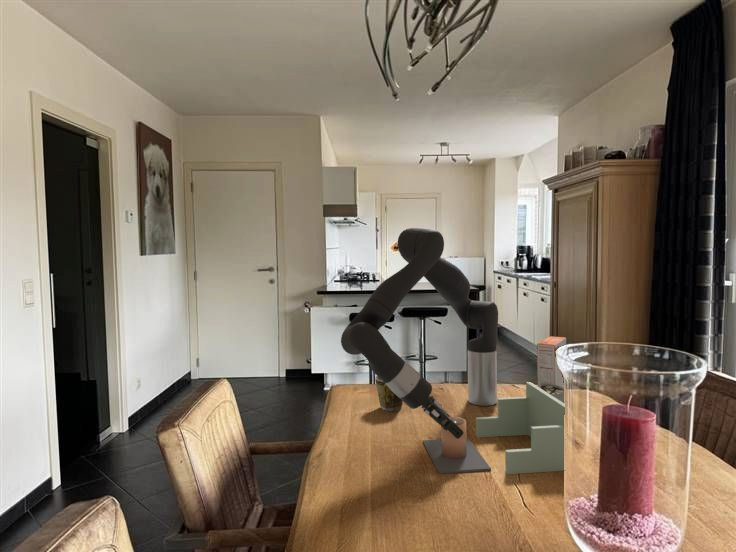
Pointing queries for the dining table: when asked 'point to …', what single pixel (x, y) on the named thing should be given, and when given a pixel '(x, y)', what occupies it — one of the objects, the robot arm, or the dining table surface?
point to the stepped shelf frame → (529, 430)
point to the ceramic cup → (387, 397)
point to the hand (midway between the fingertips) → (456, 429)
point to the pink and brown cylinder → (454, 440)
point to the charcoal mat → (449, 465)
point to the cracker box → (549, 361)
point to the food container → (554, 391)
